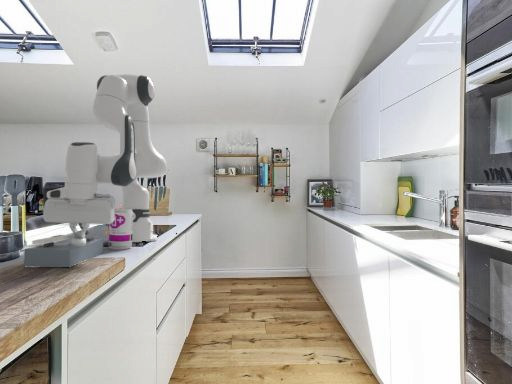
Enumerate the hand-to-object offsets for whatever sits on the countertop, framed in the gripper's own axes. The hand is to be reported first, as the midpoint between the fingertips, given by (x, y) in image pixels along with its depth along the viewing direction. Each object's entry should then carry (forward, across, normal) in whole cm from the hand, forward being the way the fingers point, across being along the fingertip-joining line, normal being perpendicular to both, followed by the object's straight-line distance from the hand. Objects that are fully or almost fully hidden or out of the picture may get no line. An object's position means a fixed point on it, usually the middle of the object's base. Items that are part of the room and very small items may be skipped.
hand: (79, 237), depth 97 cm
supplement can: (+7, -5, -22) cm, 24 cm away
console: (+7, +3, 0) cm, 7 cm away
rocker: (0, +6, +6) cm, 8 cm away
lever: (0, 0, -6) cm, 6 cm away
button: (+4, 0, 0) cm, 4 cm away
